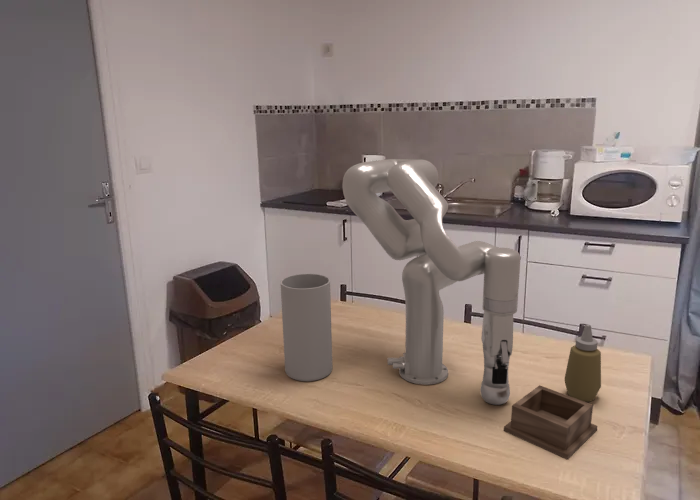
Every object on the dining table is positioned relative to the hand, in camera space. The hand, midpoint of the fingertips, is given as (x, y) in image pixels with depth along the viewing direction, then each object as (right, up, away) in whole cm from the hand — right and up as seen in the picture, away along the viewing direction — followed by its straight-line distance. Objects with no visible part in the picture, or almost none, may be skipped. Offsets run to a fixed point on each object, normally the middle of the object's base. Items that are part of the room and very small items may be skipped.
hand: (495, 376), depth 127 cm
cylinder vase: (-45, -3, +18) cm, 48 cm away
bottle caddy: (+9, -9, -10) cm, 16 cm away
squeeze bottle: (+21, -6, +3) cm, 22 cm away
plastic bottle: (0, -6, +2) cm, 7 cm away
